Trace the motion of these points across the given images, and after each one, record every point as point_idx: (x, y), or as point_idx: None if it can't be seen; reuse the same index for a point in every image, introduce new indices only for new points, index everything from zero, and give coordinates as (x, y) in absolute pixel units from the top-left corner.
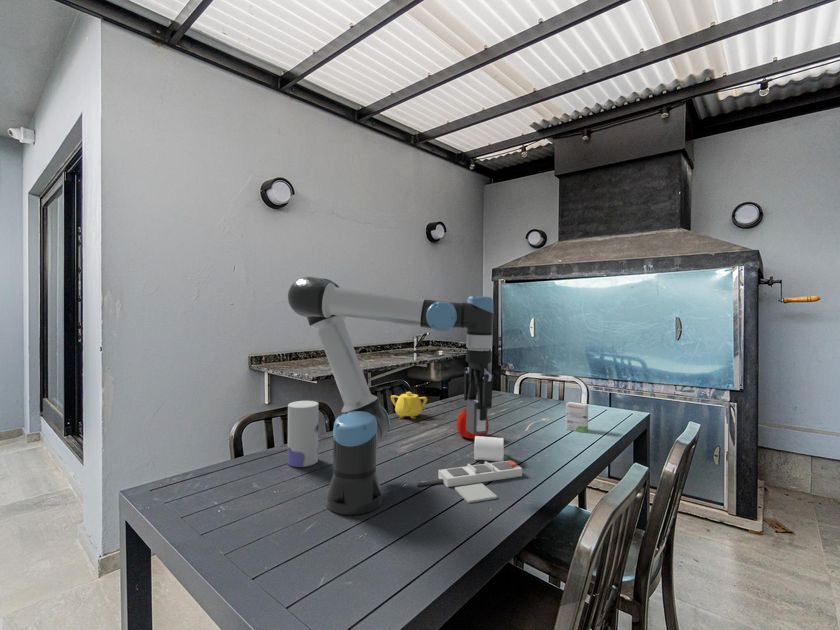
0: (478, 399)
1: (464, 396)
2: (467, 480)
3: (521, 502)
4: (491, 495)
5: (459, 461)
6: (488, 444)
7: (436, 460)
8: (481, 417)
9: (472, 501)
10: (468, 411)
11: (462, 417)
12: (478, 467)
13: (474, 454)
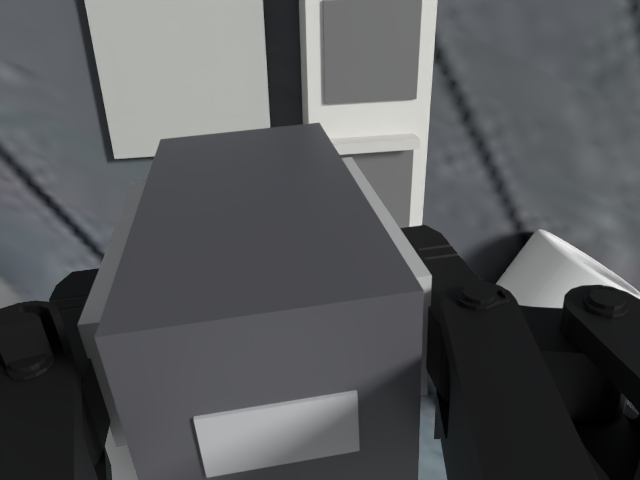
0: (51, 467)
1: (636, 319)
2: (304, 82)
3: (61, 241)
4: (127, 135)
5: (562, 152)
6: None
7: (632, 35)
8: (66, 294)
9: (87, 11)
10: (312, 208)
11: None
12: (385, 187)
13: (540, 234)
